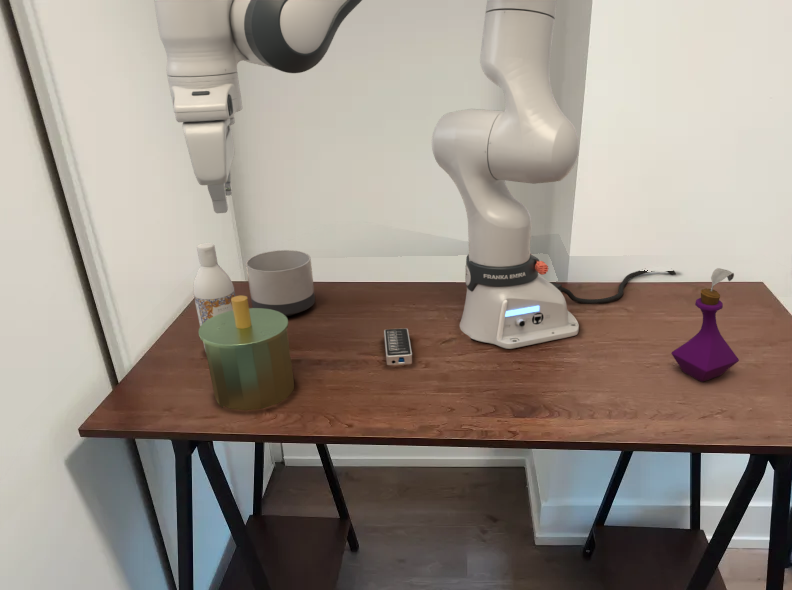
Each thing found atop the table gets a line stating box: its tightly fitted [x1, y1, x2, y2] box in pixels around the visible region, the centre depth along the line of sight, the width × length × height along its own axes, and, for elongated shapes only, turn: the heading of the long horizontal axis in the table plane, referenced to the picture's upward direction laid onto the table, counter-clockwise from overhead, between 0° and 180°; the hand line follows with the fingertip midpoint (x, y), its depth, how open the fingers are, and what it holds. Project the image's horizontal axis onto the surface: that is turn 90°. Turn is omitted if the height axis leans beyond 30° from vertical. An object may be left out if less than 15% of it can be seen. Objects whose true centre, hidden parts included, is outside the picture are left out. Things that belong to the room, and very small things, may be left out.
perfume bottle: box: [670, 267, 740, 383], centre depth 109 cm, size 8×8×18 cm
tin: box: [203, 329, 295, 411], centre depth 109 cm, size 13×13×12 cm
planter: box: [245, 249, 316, 317], centre depth 139 cm, size 13×13×10 cm
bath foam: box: [192, 242, 236, 353], centre depth 121 cm, size 7×7×20 cm
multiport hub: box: [383, 327, 413, 366], centre depth 122 cm, size 4×11×2 cm, turn 5°
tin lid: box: [198, 295, 289, 348], centre depth 105 cm, size 14×14×6 cm
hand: (224, 202), depth 97 cm, fingers open, 8 cm apart
